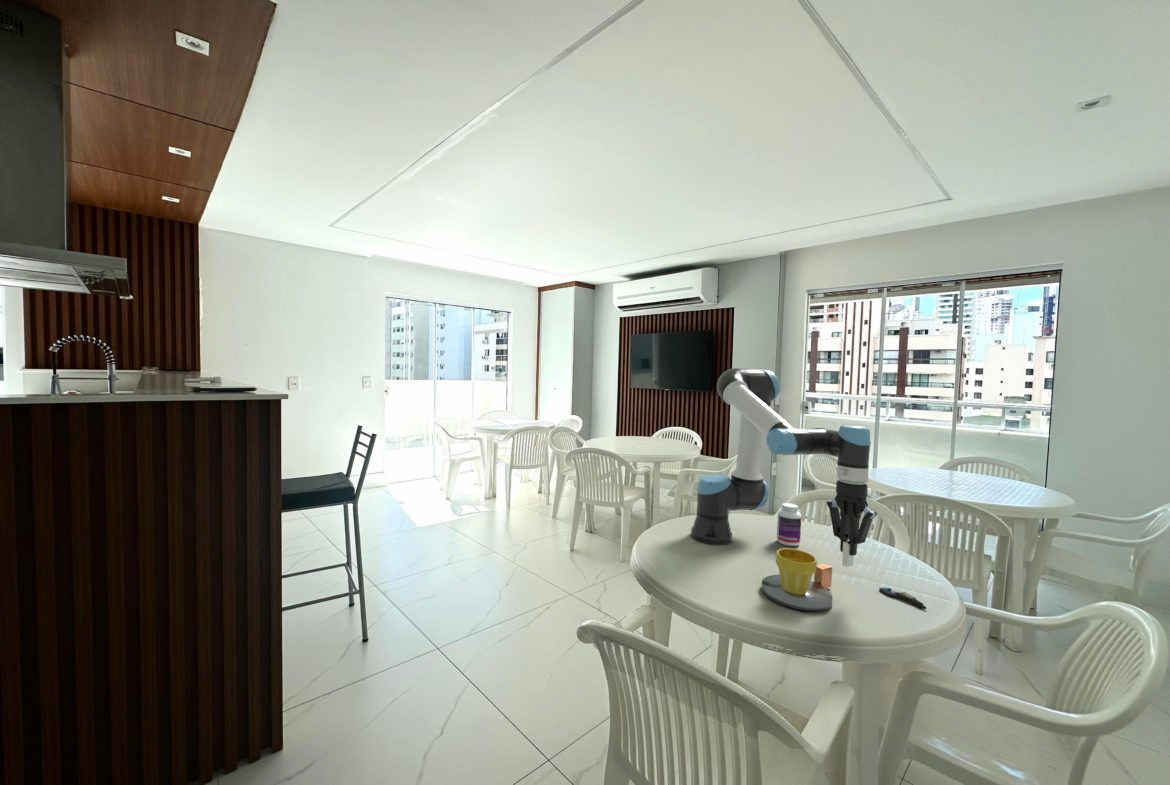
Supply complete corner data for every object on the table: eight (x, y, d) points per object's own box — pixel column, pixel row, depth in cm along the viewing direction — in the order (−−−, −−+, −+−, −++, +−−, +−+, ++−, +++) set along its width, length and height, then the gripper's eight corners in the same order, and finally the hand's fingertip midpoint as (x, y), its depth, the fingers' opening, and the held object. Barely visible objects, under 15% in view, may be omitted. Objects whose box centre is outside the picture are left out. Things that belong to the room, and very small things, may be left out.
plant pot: (819, 600, 120) (822, 564, 119) (778, 595, 122) (780, 560, 121) (808, 583, 130) (810, 550, 129) (771, 578, 132) (772, 546, 132)
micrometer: (877, 585, 132) (891, 584, 133) (876, 592, 132) (891, 591, 133) (914, 605, 120) (929, 604, 121) (913, 612, 120) (929, 611, 121)
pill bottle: (803, 547, 163) (806, 508, 163) (781, 546, 164) (784, 508, 163) (794, 539, 172) (796, 502, 171) (772, 538, 172) (775, 501, 171)
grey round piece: (747, 586, 130) (748, 565, 130) (800, 572, 141) (801, 553, 140) (803, 617, 114) (804, 594, 114) (857, 599, 125) (859, 578, 124)
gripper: (821, 477, 129) (817, 558, 129) (867, 487, 117) (863, 576, 118) (837, 475, 132) (833, 554, 133) (884, 485, 121) (879, 572, 121)
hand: (847, 565), depth 125 cm, fingers closed
